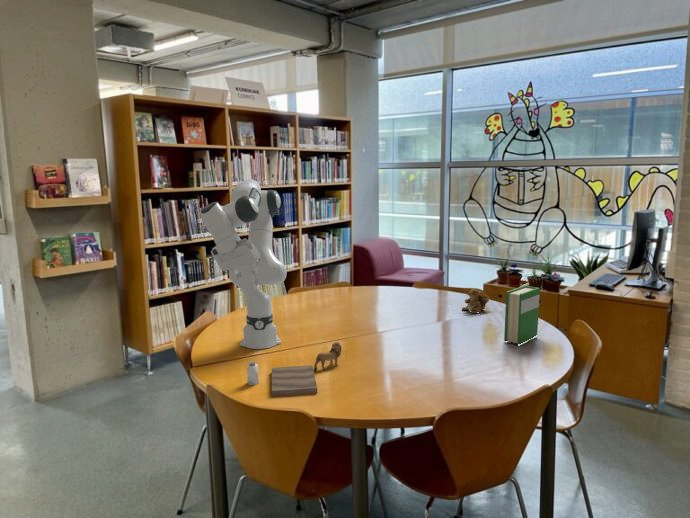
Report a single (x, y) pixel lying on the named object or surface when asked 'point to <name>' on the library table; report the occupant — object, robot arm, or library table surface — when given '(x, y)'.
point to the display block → (293, 380)
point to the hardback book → (521, 314)
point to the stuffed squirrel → (476, 301)
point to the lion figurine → (329, 356)
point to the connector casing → (252, 373)
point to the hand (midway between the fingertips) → (247, 275)
